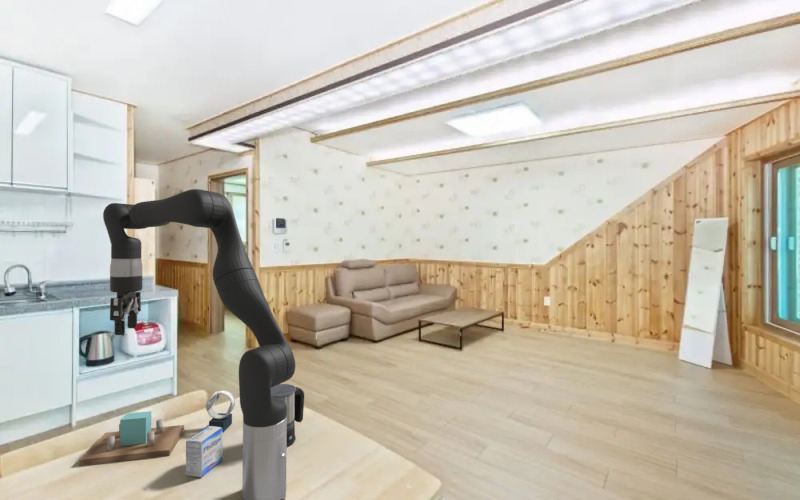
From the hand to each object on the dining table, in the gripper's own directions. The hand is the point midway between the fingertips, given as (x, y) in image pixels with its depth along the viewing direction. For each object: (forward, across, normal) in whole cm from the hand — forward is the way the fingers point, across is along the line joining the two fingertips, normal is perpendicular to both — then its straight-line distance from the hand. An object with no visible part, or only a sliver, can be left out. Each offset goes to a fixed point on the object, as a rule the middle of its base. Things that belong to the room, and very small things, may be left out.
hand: (126, 331), depth 109 cm
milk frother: (+30, -10, -40) cm, 51 cm away
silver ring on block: (+30, -1, -25) cm, 39 cm away
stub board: (+30, -7, -5) cm, 31 cm away
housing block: (+29, -7, -5) cm, 30 cm away
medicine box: (+30, -22, -25) cm, 45 cm away
